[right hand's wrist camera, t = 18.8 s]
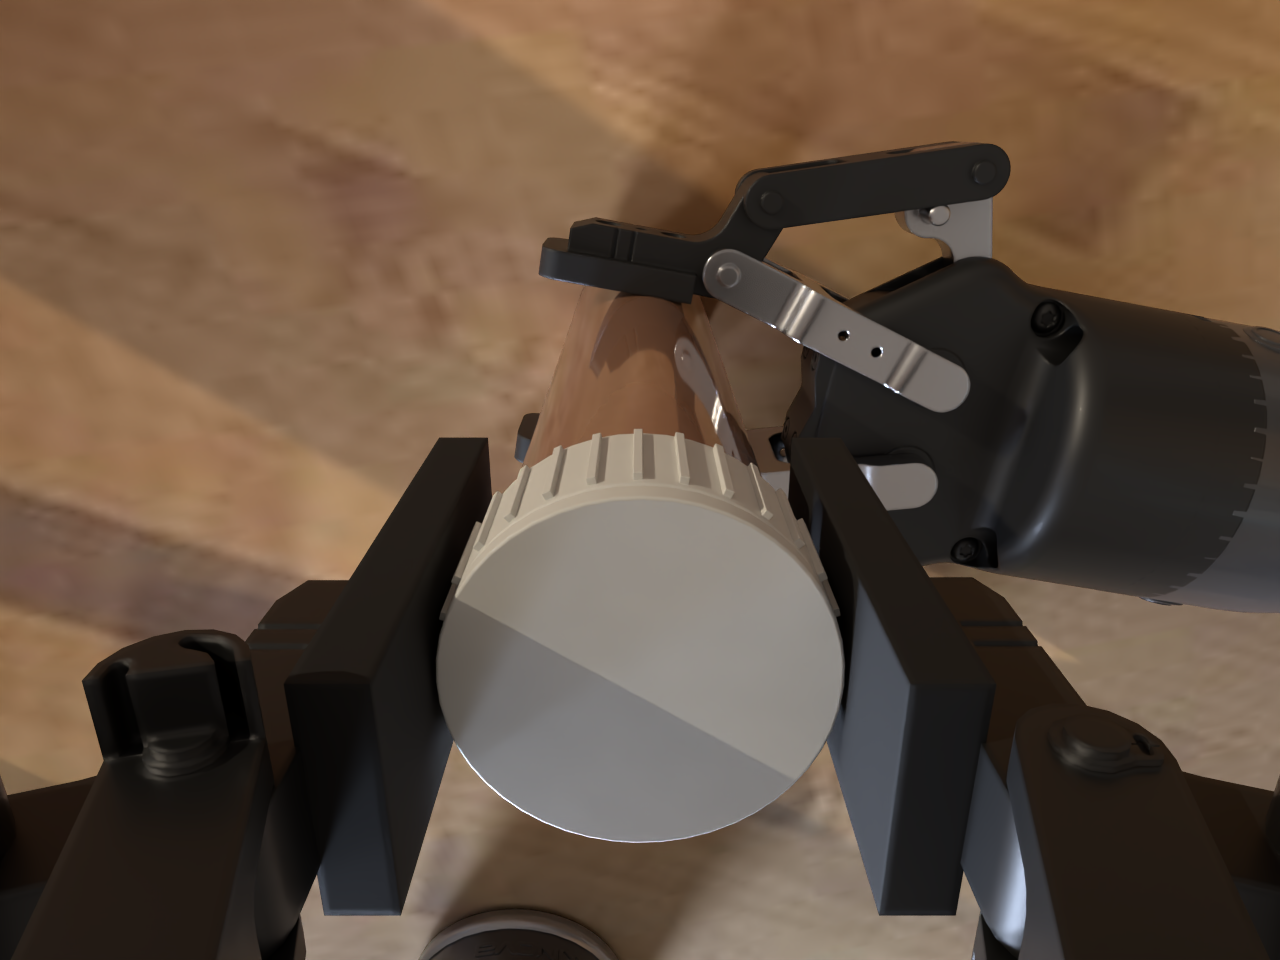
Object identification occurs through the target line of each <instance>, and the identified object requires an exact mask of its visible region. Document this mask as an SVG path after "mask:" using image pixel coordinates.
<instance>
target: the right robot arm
mask: <svg viewBox="0 0 1280 960" xmlns="http://www.w3.org/2000/svg"><path fill="white" fill-rule="evenodd" d="M491 500H492V491H491V477H490V462H489V447H488V438H439V439H438V441H437V442H436V444H435V445H434V447H433V448H432V450H431V452H430V453H429V455H428V456H427V458H426V459H425V461H424V463H423V464H422V466H421V467H420V469H419V471H418V472H417V474H416V475H415V477H414V478H413V480H412V482H411V483H410V485H409V486H408V488H407V489H406V491H405V493H404V494H403V496H402V497H401V499H400V501H399V502H398V504H397V505H396V507H395V508H394V510H393V512H392V513H391V515H390V516H389V518H388V519H387V521H386V523H385V524H384V526H383V527H382V529H381V531H380V532H379V534H378V535H377V537H376V538H375V540H374V542H373V543H372V545H371V546H370V548H369V549H368V551H367V553H366V554H365V556H364V557H363V559H362V561H361V562H360V564H359V565H358V567H357V568H356V570H355V572H354V573H353V575H352V576H351V578H350V579H349V580H308V581H306V582H305V583H303V584H302V585H300V586H299V587H297V588H295V589H294V590H292V591H291V592H289V593H288V594H286V595H284V596H283V597H281V598H280V599H278V600H277V601H276V602H275V603H274V604H273V606H272V607H271V608H270V610H269V611H268V612H267V614H266V615H265V616H264V618H263V619H262V620H261V622H260V623H259V624H258V629H254V631H253V632H252V633H251V635H250V636H249V637H248V639H247V640H246V641H245V642H244V641H243V640H242V639H241V638H239V637H238V636H237V635H235V634H231V633H226V632H222V631H218V630H183V631H179V632H174V633H169V634H164V635H159V636H154V637H151V638H148V639H146V640H143V641H140V642H138V643H135V644H132V645H130V646H127V647H125V648H122V649H121V650H119V651H117V652H116V653H114V654H112V655H111V656H109V657H108V658H106V659H104V660H103V661H101V662H99V663H98V664H97V665H96V666H95V667H94V668H93V669H92V670H91V671H90V672H89V674H88V675H87V676H86V677H85V678H84V679H83V680H82V683H83V687H84V691H85V694H86V698H87V701H88V705H89V709H90V712H91V716H92V720H93V723H94V727H95V730H96V734H97V738H98V741H99V745H100V748H101V752H102V756H103V759H104V762H103V764H102V766H101V768H100V770H99V772H98V775H97V776H94V777H90V778H87V779H83V780H79V781H75V782H70V783H65V784H60V785H55V786H50V787H45V788H41V789H36V790H31V791H26V792H21V793H16V794H11V795H7V794H6V791H5V788H4V785H3V782H2V779H1V776H0V960H305V957H306V946H305V939H304V932H303V927H302V921H301V916H300V912H301V910H302V908H303V905H304V903H305V901H306V898H307V896H308V894H309V891H310V889H311V887H312V884H313V882H314V880H315V877H316V875H317V877H318V882H319V888H320V894H321V899H322V905H323V910H324V915H401V913H402V910H403V906H404V903H405V900H406V896H407V893H408V890H409V886H410V883H411V880H412V876H413V873H414V870H415V866H416V863H417V860H418V856H419V853H420V850H421V847H422V843H423V840H424V837H425V833H426V830H427V827H428V823H429V820H430V817H431V813H432V810H433V807H434V803H435V800H436V797H437V793H438V790H439V787H440V783H441V780H442V777H443V773H444V770H445V767H446V763H447V760H448V757H449V754H450V750H451V747H452V744H453V740H454V739H453V737H452V735H451V733H450V731H449V729H448V727H447V725H446V721H445V718H444V715H443V712H442V709H441V706H440V703H439V697H438V690H437V684H436V653H437V646H438V640H439V634H440V631H441V628H442V625H443V620H439V617H440V612H441V610H442V607H443V605H444V602H445V600H446V598H447V595H448V593H449V590H450V588H451V585H452V582H451V581H452V578H453V576H454V573H455V571H456V569H457V566H458V564H459V561H460V559H461V556H462V554H463V551H464V549H465V547H466V544H467V542H468V539H469V537H470V534H471V532H472V530H473V527H474V525H475V523H476V522H479V523H483V520H484V518H485V515H486V512H487V510H488V507H489V505H490V502H491ZM788 501H789V504H790V507H791V509H792V512H793V514H794V517H795V518H796V520H799V519H801V518H803V520H804V522H805V524H806V526H807V529H808V531H809V533H810V536H811V538H812V541H813V543H814V546H815V548H816V551H817V553H818V555H819V558H820V560H821V563H822V565H823V568H824V570H825V572H826V575H827V577H828V579H827V580H828V582H829V585H830V587H831V590H832V592H833V595H834V597H835V599H836V602H837V604H838V607H839V610H840V614H841V616H838V617H836V619H837V622H838V626H839V629H840V633H841V636H842V640H843V649H844V657H845V680H844V689H843V694H842V700H841V705H840V709H839V712H838V714H837V717H836V720H835V723H834V726H833V729H832V731H831V733H830V735H829V737H828V739H827V744H828V747H829V750H830V754H831V757H832V760H833V764H834V767H835V770H836V774H837V777H838V780H839V783H840V787H841V790H842V793H843V797H844V800H845V803H846V807H847V810H848V813H849V817H850V820H851V823H852V827H853V830H854V833H855V837H856V840H857V843H858V847H859V850H860V853H861V857H862V860H863V863H864V867H865V870H866V873H867V876H868V880H869V883H870V886H871V890H872V893H873V896H874V900H875V903H876V906H877V910H878V913H879V915H956V910H957V905H958V899H959V893H960V888H961V882H962V876H963V871H964V873H965V875H966V877H967V880H968V882H969V884H970V887H971V889H972V891H973V894H974V896H975V898H976V901H977V903H978V905H979V907H980V910H981V911H980V916H979V921H978V927H977V932H976V937H975V942H974V948H973V953H972V958H971V960H1280V776H1279V779H1278V782H1277V785H1276V788H1275V791H1269V790H1264V789H1259V788H1254V787H1249V786H1245V785H1240V784H1235V783H1230V782H1225V781H1220V780H1215V779H1210V778H1205V777H1201V776H1197V775H1194V774H1190V773H1186V772H1182V771H1181V769H1180V767H1179V764H1178V762H1177V760H1176V759H1175V757H1174V756H1173V755H1172V754H1171V752H1170V751H1169V750H1168V748H1167V747H1166V746H1165V744H1164V743H1163V742H1162V741H1161V740H1160V739H1158V738H1157V737H1156V736H1154V735H1153V734H1151V733H1150V732H1149V731H1147V730H1146V729H1144V728H1143V727H1142V726H1140V725H1139V724H1137V723H1135V722H1133V721H1130V720H1128V719H1126V718H1123V717H1121V716H1119V715H1117V714H1114V713H1112V712H1110V711H1106V710H1102V709H1098V708H1093V707H1089V706H1087V705H1086V704H1085V703H1084V702H1083V700H1082V699H1081V698H1080V696H1079V695H1078V694H1077V692H1076V691H1075V690H1074V688H1073V687H1072V686H1071V684H1070V683H1069V682H1068V681H1067V679H1066V678H1065V677H1064V675H1063V674H1062V673H1061V671H1060V670H1059V669H1058V667H1057V666H1056V665H1055V664H1054V662H1053V661H1052V660H1051V658H1050V657H1049V656H1048V654H1047V653H1046V652H1045V650H1044V649H1043V648H1042V647H1041V646H1038V645H1037V640H1036V639H1035V637H1034V636H1033V635H1032V633H1031V632H1030V631H1029V630H1028V628H1027V627H1026V626H1023V625H1022V620H1021V619H1020V618H1019V616H1018V615H1017V614H1016V612H1015V611H1014V610H1013V609H1012V607H1011V606H1010V605H1009V603H1008V602H1007V601H1006V599H1005V598H1004V597H1002V596H1001V595H999V594H998V593H996V592H994V591H993V590H991V589H990V588H988V587H987V586H985V585H983V584H982V583H980V582H979V581H977V580H976V579H974V578H972V577H929V576H928V575H927V573H926V572H925V570H924V568H923V567H922V565H921V564H920V562H919V561H918V559H917V557H916V556H915V554H914V553H913V551H912V550H911V548H910V546H909V545H908V543H907V542H906V540H905V538H904V537H903V535H902V534H901V532H900V531H899V529H898V527H897V526H896V524H895V523H894V521H893V520H892V518H891V516H890V515H889V513H888V512H887V510H886V508H885V507H884V505H883V504H882V502H881V501H880V499H879V497H878V496H877V494H876V493H875V491H874V490H873V488H872V486H871V485H870V483H869V482H868V480H867V478H866V477H865V475H864V474H863V472H862V471H861V469H860V467H859V466H858V464H857V463H856V461H855V460H854V458H853V456H852V455H851V453H850V452H849V450H848V448H847V447H846V445H845V444H844V442H843V441H842V439H841V438H792V447H791V461H790V476H789V491H788Z"/></svg>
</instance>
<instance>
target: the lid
mask: <svg viewBox="0 0 1280 960" xmlns="http://www.w3.org/2000/svg"><path fill="white" fill-rule="evenodd" d="M827 579H828V577H827V575H826V572H825V570H824V568H823V565H822V563H821V560H820V558H819V555H818V553H817V551H816V548H815V546H814V543H813V541H812V538H811V536H810V533H809V531H808V529H807V526H806V524H805V522H804V520H803V518H801V519H799V520H796V518H795V517H794V514H793V512H792V509H791V507H790V504H789V501H788V499H787V496H786V494H785V492H784V491H783V490H782V489H781V488H780V489H778V490H777V491H775V490H774V489H773V487H772V486H771V485H770V484H769V483H767V482H766V481H765V480H764V479H763V478H762V477H761V476H760V473H759V470H758V467H757V466H756V465H754V464H753V463H750V464H749V465H748V466H746V465H745V464H743V463H742V462H740V461H739V460H737V459H736V458H734V457H732V456H730V455H728V454H726V453H724V449H723V446H721V445H718V444H715V445H714V447H711V446H708V445H705V444H702V443H699V442H696V441H693V440H689V439H685V438H684V434H683V433H678V432H676V433H675V437H674V436H669V435H660V434H646V433H643V430H642V429H634V434H618V435H612V436H607V437H602V435H601V433H597V434H593V435H592V440H589V441H585V442H582V443H579V444H576V445H572V446H570V447H568V448H566V449H563V447H562V446H561V445H560V446H558V447H556V448H554V450H553V454H552V455H550V456H549V457H547V458H545V459H544V460H542V461H541V462H539V463H537V464H536V465H534V466H533V467H531V468H529V467H528V466H527V465H525V466H524V467H522V468H521V469H520V471H519V474H518V477H517V479H516V480H515V481H514V482H513V483H512V484H511V485H510V486H509V487H508V488H507V489H506V490H505V492H504V493H503V494H502V493H500V492H499V491H497V492H496V493H495V494H494V495H493V497H492V500H491V502H490V505H489V507H488V510H487V512H486V515H485V518H484V520H483V523H479V522H476V523H475V525H474V527H473V530H472V532H471V534H470V537H469V539H468V542H467V544H466V547H465V549H464V551H463V554H462V556H461V559H460V561H459V564H458V566H457V569H456V571H455V573H454V576H453V578H452V581H451V582H452V585H451V588H450V590H449V593H448V595H447V598H446V600H445V602H444V605H443V607H442V610H441V612H440V617H439V620H443V625H442V628H441V631H440V634H439V640H438V646H437V653H436V684H437V690H438V697H439V703H440V706H441V709H442V712H443V715H444V718H445V721H446V725H447V727H448V729H449V731H450V733H451V735H452V737H453V739H454V741H455V743H456V745H457V747H458V749H459V750H460V752H461V753H462V754H463V756H464V757H465V759H466V760H467V762H468V763H469V765H470V766H471V767H472V768H473V769H474V771H475V772H476V773H477V774H478V775H479V776H480V777H481V778H482V779H483V781H484V782H485V783H486V784H488V785H489V786H490V787H491V788H492V789H493V790H494V791H496V792H497V793H498V794H499V795H500V796H501V797H502V798H504V799H505V800H507V801H508V802H510V803H511V804H513V805H514V806H516V807H517V808H519V809H520V810H522V811H523V812H525V813H527V814H529V815H531V816H533V817H535V818H537V819H538V820H540V821H542V822H544V823H547V824H550V825H552V826H555V827H557V828H560V829H562V830H565V831H568V832H572V833H575V834H579V835H583V836H586V837H591V838H597V839H603V840H609V841H617V842H634V843H644V842H664V841H671V840H678V839H685V838H690V837H694V836H698V835H702V834H706V833H710V832H713V831H715V830H718V829H721V828H723V827H726V826H729V825H732V824H734V823H736V822H738V821H740V820H742V819H744V818H746V817H748V816H750V815H752V814H754V813H756V812H757V811H759V810H760V809H762V808H763V807H765V806H767V805H768V804H770V803H771V802H773V801H774V800H775V799H777V798H778V797H779V796H780V795H781V794H783V793H784V792H785V791H786V790H787V789H789V788H790V787H791V786H792V785H793V784H794V783H795V782H796V781H797V780H798V779H799V778H800V777H801V776H802V775H803V774H804V772H805V771H806V770H807V769H808V768H809V767H810V765H811V764H812V763H813V761H814V760H815V758H816V757H817V756H818V754H819V753H820V751H821V750H822V748H823V746H824V744H825V742H826V740H827V739H828V737H829V735H830V733H831V731H832V729H833V726H834V723H835V720H836V717H837V714H838V712H839V709H840V705H841V700H842V694H843V689H844V680H845V657H844V649H843V640H842V636H841V633H840V629H839V626H838V622H837V619H836V617H838V616H841V614H840V610H839V607H838V604H837V602H836V599H835V597H834V595H833V592H832V590H831V587H830V585H829V582H828V580H827Z"/></svg>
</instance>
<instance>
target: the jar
mask: <svg viewBox="0 0 1280 960" xmlns="http://www.w3.org/2000/svg"><path fill="white" fill-rule="evenodd" d="M634 429H642V430H643V433H646V434H660V435H669V436H674V437H675V433H676V432H678V433H683V434H684V438H685V439H689V440H693V441H696V442H699V443H702V444H705V445H708V446H711V447H714V445H715V444H718V445H721V446H723V449H724V453H726V454H728V455H730V456H732V457H734V458H736V459H737V460H739V461H740V462H742V463H743V464H745V465H746V466H748V465H749V464H750V463H753V464H754V465H756V466H757V467H758V464H757V461H756V458H755V455H754V452H753V449H752V446H751V443H750V440H749V438H748V435H747V432H746V429H745V426H744V423H743V420H742V417H741V414H740V411H739V408H738V405H737V402H736V400H735V397H734V394H733V391H732V388H731V385H730V382H729V379H728V376H727V373H726V370H725V367H724V364H723V362H722V359H721V356H720V353H719V350H718V347H717V344H716V341H715V338H714V335H713V332H712V329H711V326H710V324H709V321H708V318H707V315H706V312H705V309H704V306H703V303H702V300H701V297H700V295H694V294H693V297H692V302H691V304H685V303H680V302H674V301H669V300H664V299H661V298H655V297H648V296H641V295H636V294H630V293H625V292H619V291H614V290H608V289H603V288H597V287H591V286H586V285H585V286H584V288H583V291H582V293H581V295H580V298H579V301H578V304H577V307H576V310H575V313H574V316H573V318H572V321H571V324H570V327H569V330H568V333H567V336H566V339H565V342H564V345H563V348H562V351H561V354H560V356H559V359H558V362H557V365H556V368H555V371H554V374H553V377H552V380H551V383H550V386H549V389H548V392H547V394H546V397H545V400H544V403H543V406H542V409H541V412H540V415H539V418H538V421H537V424H536V427H535V430H534V432H533V435H532V438H531V441H530V444H529V447H528V450H527V453H526V456H525V459H524V462H523V465H522V467H524V466H525V465H527V466H528V467H529V468H531V467H533V466H534V465H536V464H537V463H539V462H541V461H542V460H544V459H545V458H547V457H549V456H550V455H552V454H553V450H554V448H556V447H558V446H560V445H561V446H562V447H563V449H566V448H568V447H570V446H572V445H576V444H579V443H582V442H585V441H589V440H592V435H593V434H597V433H601V435H602V437H607V436H612V435H618V434H634ZM758 470H759V467H758ZM759 473H760V470H759ZM760 476H761V473H760ZM761 477H762V476H761Z"/></svg>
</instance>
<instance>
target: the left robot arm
mask: <svg viewBox="0 0 1280 960" xmlns="http://www.w3.org/2000/svg"><path fill="white" fill-rule="evenodd" d="M1009 176H1010V161H1009V158H1008V156H1007V154H1006V153H1005V151H1004V150H1003V149H1001V148H1000V147H998V146H996V145H993V144H984V143H974V142H954V141H951V142H943V143H936V144H929V145H922V146H915V147H908V148H901V149H894V150H887V151H880V152H873V153H866V154H859V155H852V156H845V157H838V158H831V159H824V160H817V161H810V162H803V163H796V164H789V165H782V166H775V167H769V168H762V169H755V170H752V171H749V172H748V173H746V174H745V175H744V176H743V177H742V178H741V179H740V180H739V182H738V184H737V186H736V189H735V196H734V197H733V199H732V201H731V202H730V204H729V206H728V208H727V209H726V211H725V213H724V214H723V216H722V218H721V219H720V221H719V222H718V223H717V224H716V225H715V226H714V227H713V228H712V229H711V230H709V231H707V232H705V233H702V234H698V235H687V234H682V233H676V232H671V231H666V230H660V229H655V228H649V227H644V226H639V225H633V224H628V223H623V222H617V221H612V220H607V219H601V218H596V217H595V218H591V219H586V220H581V221H577V222H574V224H573V225H572V227H571V228H570V235H569V239H562V238H547V240H546V241H545V242H544V243H543V246H542V253H541V260H540V268H539V275H541V276H543V277H546V278H549V279H553V280H558V281H564V282H569V283H575V284H580V285H586V286H591V287H597V288H603V289H608V290H614V291H619V292H625V293H630V294H636V295H641V296H648V297H655V298H661V299H664V300H669V301H674V302H680V303H685V304H691V302H692V297H693V294H694V295H700V296H705V297H711V298H716V299H718V300H720V301H722V302H724V303H726V304H728V305H730V306H732V307H734V308H736V309H738V310H740V311H742V312H744V313H746V314H748V315H750V316H752V317H754V318H756V319H758V320H760V321H762V322H764V323H766V324H768V325H770V326H772V327H774V328H776V329H778V330H779V331H781V332H782V333H784V334H785V335H787V336H788V337H790V338H791V339H793V340H795V341H797V342H798V343H800V344H802V345H804V347H803V351H802V355H801V372H802V385H801V388H800V390H799V392H798V393H797V395H796V397H795V399H794V401H793V402H792V404H791V406H790V408H789V410H788V411H787V415H786V419H785V423H784V426H779V427H769V428H758V429H750V430H746V432H747V435H748V438H749V440H750V443H751V446H752V449H753V452H754V455H755V458H756V461H757V464H758V467H759V470H760V473H761V476H762V478H763V479H764V480H765V481H766V482H767V483H769V484H770V485H771V486H772V487H773V489H774V490H775V491H777V490H778V489H780V488H781V489H782V490H783V491H784V492H785V494H786V496H787V499H788V491H789V476H790V461H791V447H792V438H841V439H842V441H843V442H844V444H845V445H846V447H847V448H848V450H849V452H850V453H851V455H852V456H853V458H854V460H855V461H856V463H857V464H858V466H859V467H860V469H861V471H862V472H863V474H864V475H865V477H866V478H867V480H868V482H869V483H870V485H871V486H872V488H873V490H874V491H875V493H876V494H877V496H878V497H879V499H880V501H881V502H882V504H883V505H884V507H885V508H886V510H887V512H888V513H889V515H890V516H891V518H892V520H893V521H894V523H895V524H896V526H897V527H898V529H899V531H900V532H901V534H902V535H903V537H904V538H905V540H906V542H907V543H908V545H909V546H910V548H911V550H912V551H913V553H914V554H915V556H916V557H917V559H918V561H919V562H920V564H921V565H922V566H925V565H929V564H935V563H945V562H949V563H956V564H961V565H964V566H968V567H972V568H975V569H979V570H983V571H987V572H991V573H996V574H1003V575H1009V576H1015V577H1021V578H1027V579H1033V580H1040V581H1046V582H1052V583H1058V584H1064V585H1071V586H1077V587H1083V588H1089V589H1095V590H1100V591H1106V592H1112V593H1118V594H1125V595H1131V596H1137V597H1139V598H1141V599H1144V600H1146V601H1150V602H1153V603H1157V604H1162V605H1183V604H1186V605H1193V606H1199V607H1204V608H1210V609H1218V610H1226V611H1236V612H1249V613H1280V331H1276V330H1273V329H1270V328H1266V327H1260V326H1248V325H1243V324H1237V323H1231V322H1226V321H1220V320H1215V319H1209V318H1204V317H1200V316H1195V315H1190V314H1184V313H1179V312H1174V311H1169V310H1163V309H1158V308H1152V307H1147V306H1141V305H1136V304H1131V303H1125V302H1120V301H1115V300H1109V299H1104V298H1099V297H1093V296H1088V295H1082V294H1077V293H1072V292H1066V291H1061V290H1056V289H1050V288H1045V287H1040V286H1035V285H1031V284H1027V283H1026V282H1024V281H1023V280H1021V279H1020V278H1019V277H1018V276H1017V275H1016V274H1015V273H1014V272H1013V271H1012V270H1011V269H1010V268H1008V267H1007V266H1006V265H1005V264H1003V263H1001V262H1000V261H998V260H995V259H992V209H993V196H995V195H997V194H998V193H999V192H1000V191H1001V190H1002V189H1003V188H1004V186H1005V185H1006V183H1007V181H1008V179H1009ZM894 212H895V217H896V220H897V222H898V224H899V226H900V227H901V228H902V229H903V230H905V231H907V232H909V233H911V234H914V235H916V236H919V237H922V238H934V239H935V240H936V241H937V242H938V243H939V245H940V247H941V250H942V257H940V258H938V259H936V260H934V261H931V262H929V263H927V264H925V265H923V266H921V267H918V268H916V269H914V270H912V271H910V272H908V273H905V274H903V275H901V276H899V277H897V278H895V279H892V280H890V281H888V282H886V283H884V284H882V285H880V286H877V287H875V288H873V289H871V290H869V291H867V292H864V293H862V294H860V295H858V296H856V297H854V298H851V299H850V298H848V297H846V296H844V295H842V294H840V293H838V292H836V291H834V290H832V289H830V288H828V287H826V286H824V285H822V284H820V283H818V282H816V281H814V280H813V279H811V278H809V277H807V276H805V275H803V274H801V273H799V272H797V271H794V270H792V269H789V268H787V267H784V266H782V265H780V264H779V263H777V262H775V261H773V260H771V259H769V258H767V257H765V256H766V255H767V253H768V252H769V250H770V248H771V247H772V245H773V244H774V242H775V240H776V239H777V237H778V236H779V234H780V232H781V231H782V229H783V228H787V227H794V226H801V225H808V224H816V223H823V222H830V221H837V220H844V219H851V218H858V217H866V216H873V215H880V214H887V213H894ZM539 415H540V413H531V414H526V415H525V416H524V417H523V420H522V422H521V425H520V427H519V430H518V435H517V443H516V450H515V458H516V460H518V461H519V462H521V463H523V462H524V459H525V456H526V453H527V450H528V447H529V444H530V441H531V438H532V435H533V432H534V430H535V427H536V424H537V421H538V418H539ZM783 448H785V449H784V450H781V449H783ZM419 960H618V959H617V957H616V956H615V954H614V953H613V951H612V950H611V949H610V948H609V947H608V946H607V944H606V943H605V942H604V941H602V940H601V939H600V938H599V937H598V936H597V935H595V934H594V933H593V932H591V931H590V930H588V929H586V928H585V927H583V926H581V925H579V924H577V923H575V922H573V921H571V920H568V919H566V918H563V917H560V916H557V915H554V914H550V913H545V912H540V911H534V910H522V909H509V910H497V911H490V912H485V913H480V914H477V915H473V916H470V917H468V918H465V919H463V920H460V921H458V922H456V923H454V924H452V925H451V926H449V927H447V928H446V929H444V930H443V931H442V932H440V933H439V934H438V935H437V936H436V937H435V938H433V939H432V940H431V942H430V943H429V944H428V945H427V946H426V948H425V949H424V951H423V952H422V954H421V956H420V958H419Z"/></svg>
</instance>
